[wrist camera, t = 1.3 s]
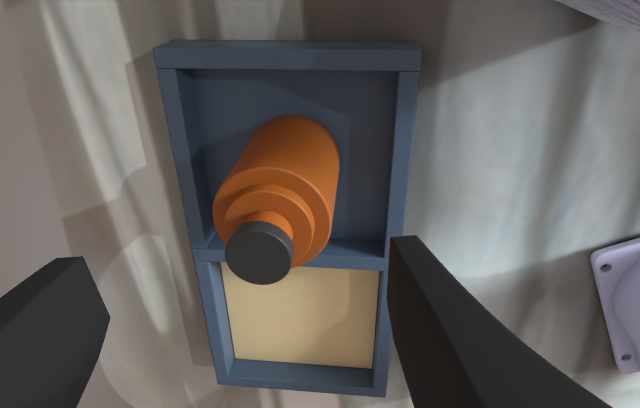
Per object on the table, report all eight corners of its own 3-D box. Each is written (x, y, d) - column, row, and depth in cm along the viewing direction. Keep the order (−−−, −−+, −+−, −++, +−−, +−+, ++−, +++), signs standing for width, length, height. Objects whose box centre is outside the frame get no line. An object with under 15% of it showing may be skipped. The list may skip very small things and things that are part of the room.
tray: (384, 369, 28) (385, 398, 26) (227, 358, 29) (217, 384, 27) (416, 41, 18) (422, 50, 16) (172, 39, 19) (152, 47, 17)
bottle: (355, 179, 21) (349, 289, 14) (277, 210, 22) (236, 324, 15) (314, 98, 19) (284, 177, 12) (232, 137, 20) (162, 227, 13)
